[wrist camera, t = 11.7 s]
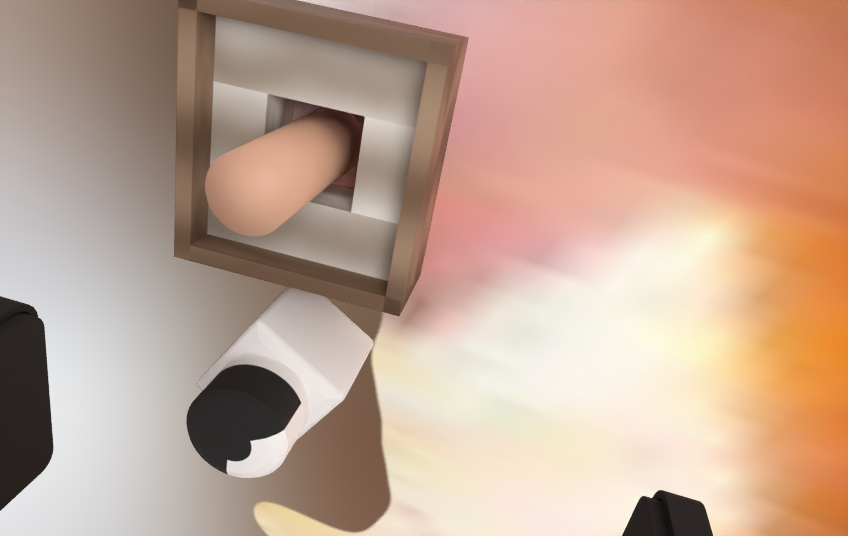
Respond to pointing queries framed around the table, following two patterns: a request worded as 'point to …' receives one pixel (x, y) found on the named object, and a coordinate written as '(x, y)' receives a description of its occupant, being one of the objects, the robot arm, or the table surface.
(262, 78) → the bore box
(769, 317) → the table surface
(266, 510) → the table surface
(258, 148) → the peg
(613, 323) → the table surface
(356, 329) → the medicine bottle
